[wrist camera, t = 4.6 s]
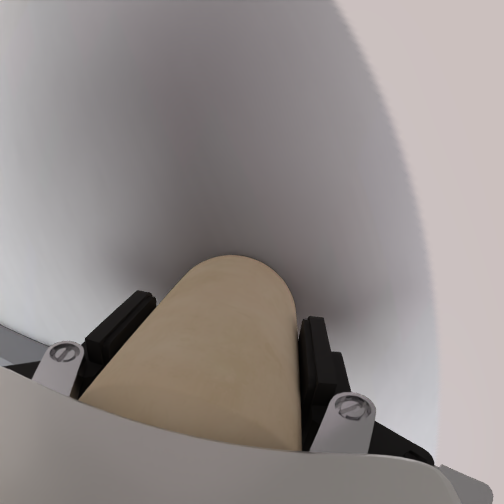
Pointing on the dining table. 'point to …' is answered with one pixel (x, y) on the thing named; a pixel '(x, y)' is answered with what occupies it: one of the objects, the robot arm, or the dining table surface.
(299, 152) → the dining table surface
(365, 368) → the dining table surface
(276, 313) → the candle
